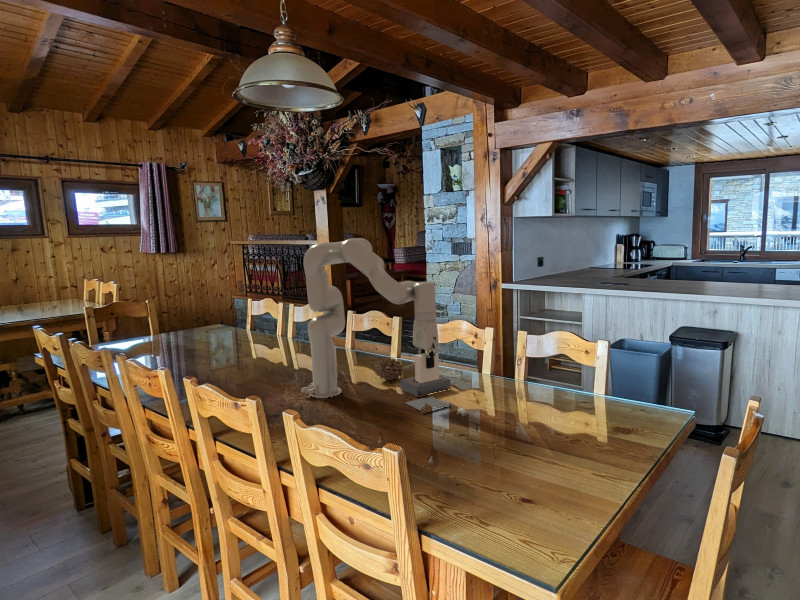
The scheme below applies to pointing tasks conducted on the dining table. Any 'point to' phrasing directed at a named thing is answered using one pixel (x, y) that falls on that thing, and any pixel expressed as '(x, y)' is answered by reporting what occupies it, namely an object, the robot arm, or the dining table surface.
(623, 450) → the dining table surface
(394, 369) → the pine cone
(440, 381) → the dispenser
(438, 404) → the mat
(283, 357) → the dining table surface
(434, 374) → the cream upright block
